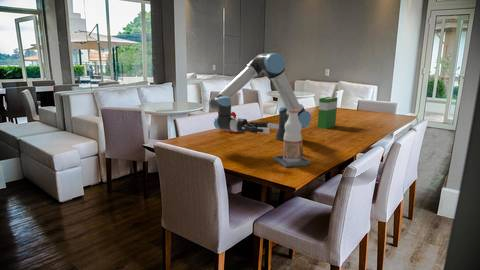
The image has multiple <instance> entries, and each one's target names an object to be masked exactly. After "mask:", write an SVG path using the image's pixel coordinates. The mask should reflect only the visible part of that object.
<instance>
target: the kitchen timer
mask: <svg viewBox="0 0 480 270" xmlns="http://www.w3.org/2000/svg"><path fill="white" fill-rule="evenodd" d="M231 118H238V117H237V114H236V112H234V111H231ZM224 131H225V132H224ZM223 132H224V133H227V132H229V134H238V133H237V132H239V131H236V132H234V131H231V130H223ZM239 133H240V132H239Z"/></svg>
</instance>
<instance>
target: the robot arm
mask: <svg viewBox="0 0 480 270" xmlns="http://www.w3.org/2000/svg"><path fill="white" fill-rule="evenodd" d="M285 64H286V62H285V58H284V57H283V56H282V55H281V54H280V53H276V52H269V53H268V52H261V53H260V54H257V55H256V56H255V57H254V58H253V59H251V60H250V62H248V63H247V64H246V66H245V68H244V69H243V70H242V71H241V72H240V73H239V74H238V75H237V76H236V77H235V78H234V79H232V80H231V81H230V82H229V83H228V84H227V85H226V86H225V87H224V88H223V89H222V90H221V91H220V92H219V93H218V94H216V95H215V96H212V97H211V98H210V99H209V100H208V106H209V107H210V109H212V110H215V111H217V112H218V114H217V116H216V117H215V118H214V121H213V125H214V127H215V129H218V130H221V131H224V130H231V131H234V132H236V131H239V133H246V132H248V133H252V134H255V135H256V134H258V133H259V134H269V135H270V129H273V130H276V134H275V139H276V140H279V141H283V142H284V133H285V128H284V126H285V123H286V122H287V120H288V118H289V114H290V113H289V110H291V109H295V110H298V111H299V112H298V119H299V121H300V123H301V125H302V129H306V128H308V127H309V125H310V124H311V121H312V114H311V113H310V112H309V111H307V110H306V108H305V107H304V106H303V104H301V103H300V102H299V100H298V99H297V96H296V95H295V92H294V90H293V88H292V87H291V84H290V81H289V80H288V78H287V76H286V75H285V72H286V68H285ZM262 73H265V75H266V77H267V79H268V80H270V81H271V82H272V84H273V86H274V87H275V89H276V91H277V92H278V94H279V97H280V99H281V100H282V102H283V104H284V105H283V106H280V107H279V109H278V123H271V122H269V121H265V122H264V121H250V122H249V121H248V119H246V118H239V117H237V118H231V113H232V98H234V97H235V95H236V94H238V93H239V92H240V91H241V90H242V89H243V88H244V87H245V86H246V85H247V84H248V83H249V82H250V81H252V80H253V78H254V77H256V78H257V77H258V76H259V75H260V74H262ZM302 129H301V130H302Z"/></svg>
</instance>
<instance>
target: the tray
mask: <svg viewBox="0 0 480 270" xmlns="http://www.w3.org/2000/svg"><path fill="white" fill-rule="evenodd" d="M273 160H274V161H275V162H276V163H278V164H279V165H281V166H283V167H284V168H286V169H287V168H294V167H304V166H311V161H310V160H309V159H307V158H305V157H304V156H302V155H301V156H300V162H295V163H286V162H284V161H283V154H282V155H280V154H279V155H273Z"/></svg>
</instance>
